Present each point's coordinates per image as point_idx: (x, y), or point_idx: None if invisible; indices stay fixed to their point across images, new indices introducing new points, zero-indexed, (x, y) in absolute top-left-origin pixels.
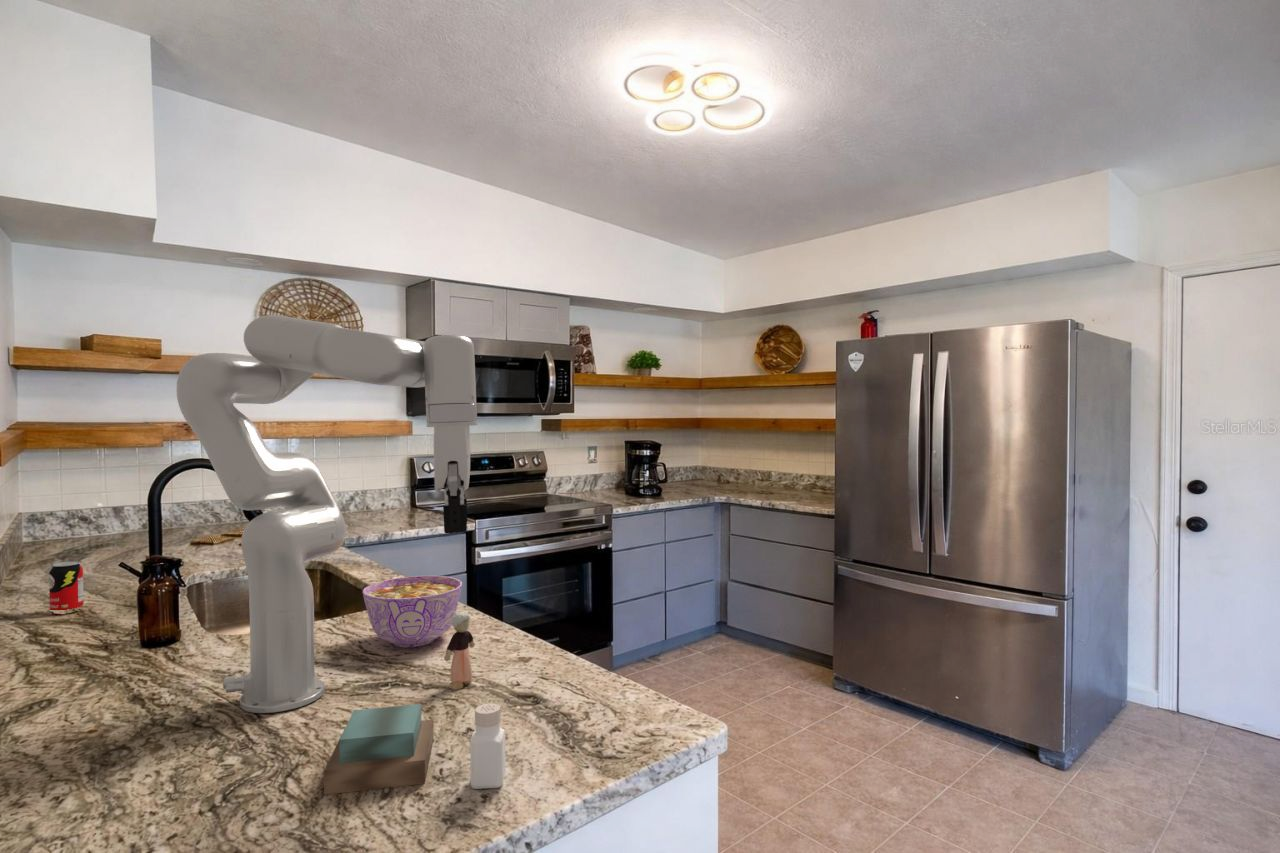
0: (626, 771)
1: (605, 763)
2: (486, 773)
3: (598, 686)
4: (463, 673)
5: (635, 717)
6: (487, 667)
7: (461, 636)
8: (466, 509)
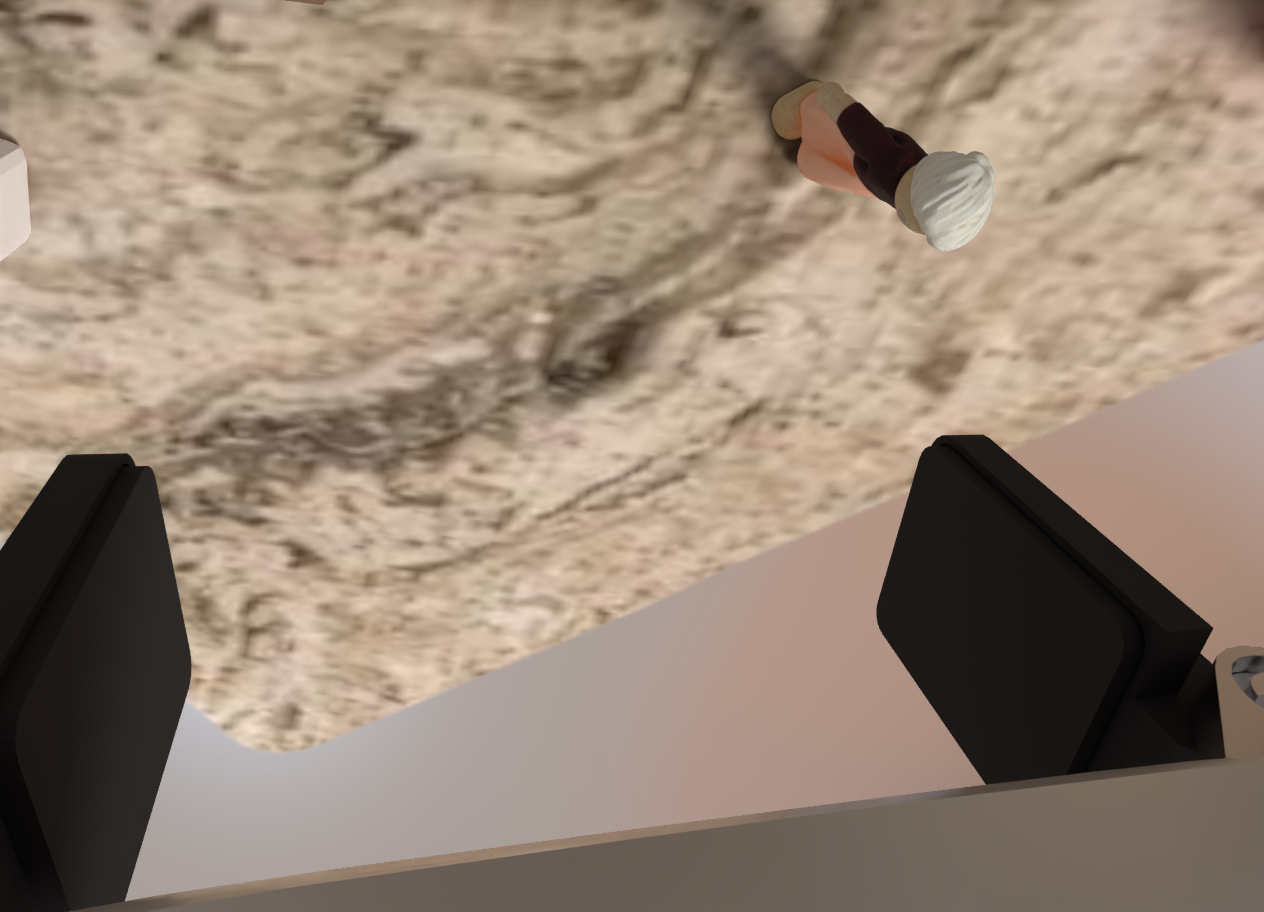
0: None
1: None
2: None
3: (616, 551)
4: (817, 151)
5: (370, 609)
6: None
7: (883, 184)
8: (963, 734)
